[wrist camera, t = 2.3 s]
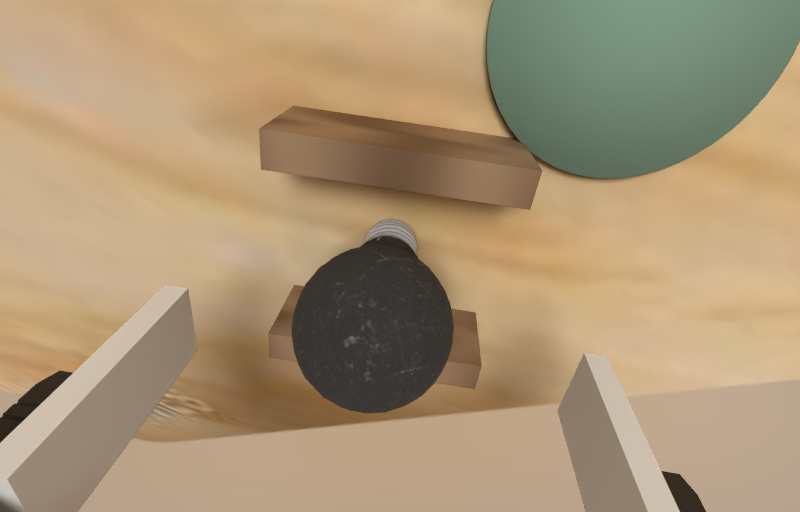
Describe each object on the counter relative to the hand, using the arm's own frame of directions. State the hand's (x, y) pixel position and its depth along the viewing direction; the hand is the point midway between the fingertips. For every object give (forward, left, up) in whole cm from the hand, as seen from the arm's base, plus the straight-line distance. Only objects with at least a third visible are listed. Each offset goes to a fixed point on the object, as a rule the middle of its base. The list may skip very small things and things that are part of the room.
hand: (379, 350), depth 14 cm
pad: (+8, +10, -8) cm, 15 cm away
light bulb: (0, 0, -8) cm, 8 cm away
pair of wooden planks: (0, 0, -8) cm, 8 cm away
